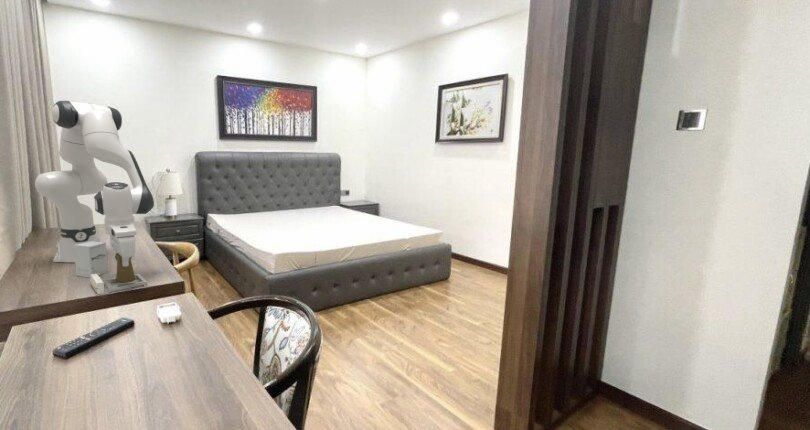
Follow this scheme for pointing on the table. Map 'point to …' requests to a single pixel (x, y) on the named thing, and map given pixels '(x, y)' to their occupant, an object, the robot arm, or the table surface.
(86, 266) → the supplement box
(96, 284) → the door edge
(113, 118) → the robot arm
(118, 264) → the cork
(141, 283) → the grey square tray
